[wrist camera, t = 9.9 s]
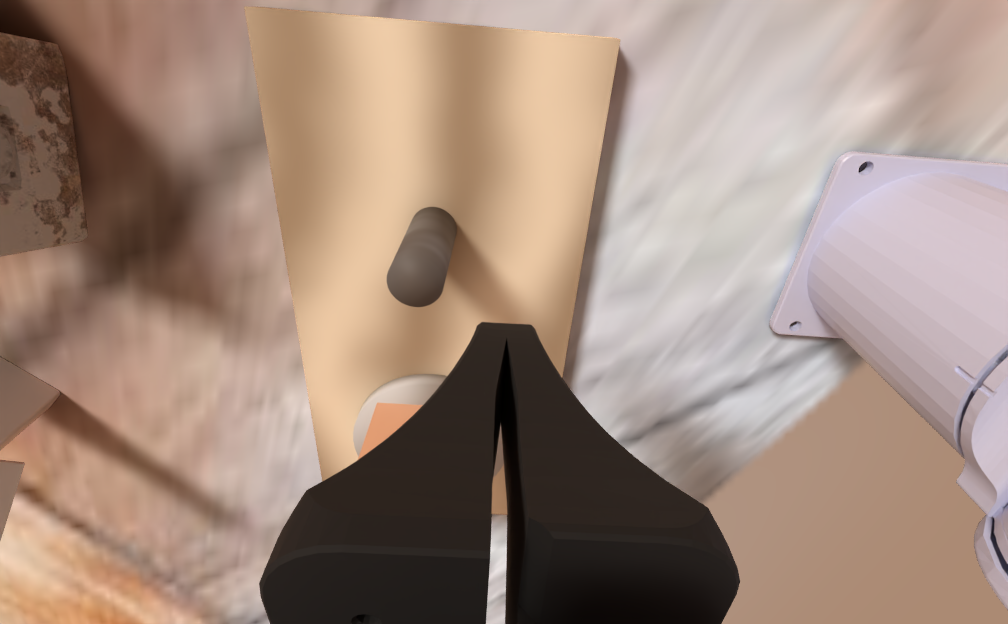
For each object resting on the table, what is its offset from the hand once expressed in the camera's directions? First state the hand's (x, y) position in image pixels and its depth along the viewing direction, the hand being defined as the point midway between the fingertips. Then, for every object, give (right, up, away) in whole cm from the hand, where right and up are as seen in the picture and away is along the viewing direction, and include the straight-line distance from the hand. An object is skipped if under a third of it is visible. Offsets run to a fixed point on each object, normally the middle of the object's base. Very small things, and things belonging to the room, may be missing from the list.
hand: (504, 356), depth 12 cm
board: (-3, +1, +11) cm, 11 cm away
